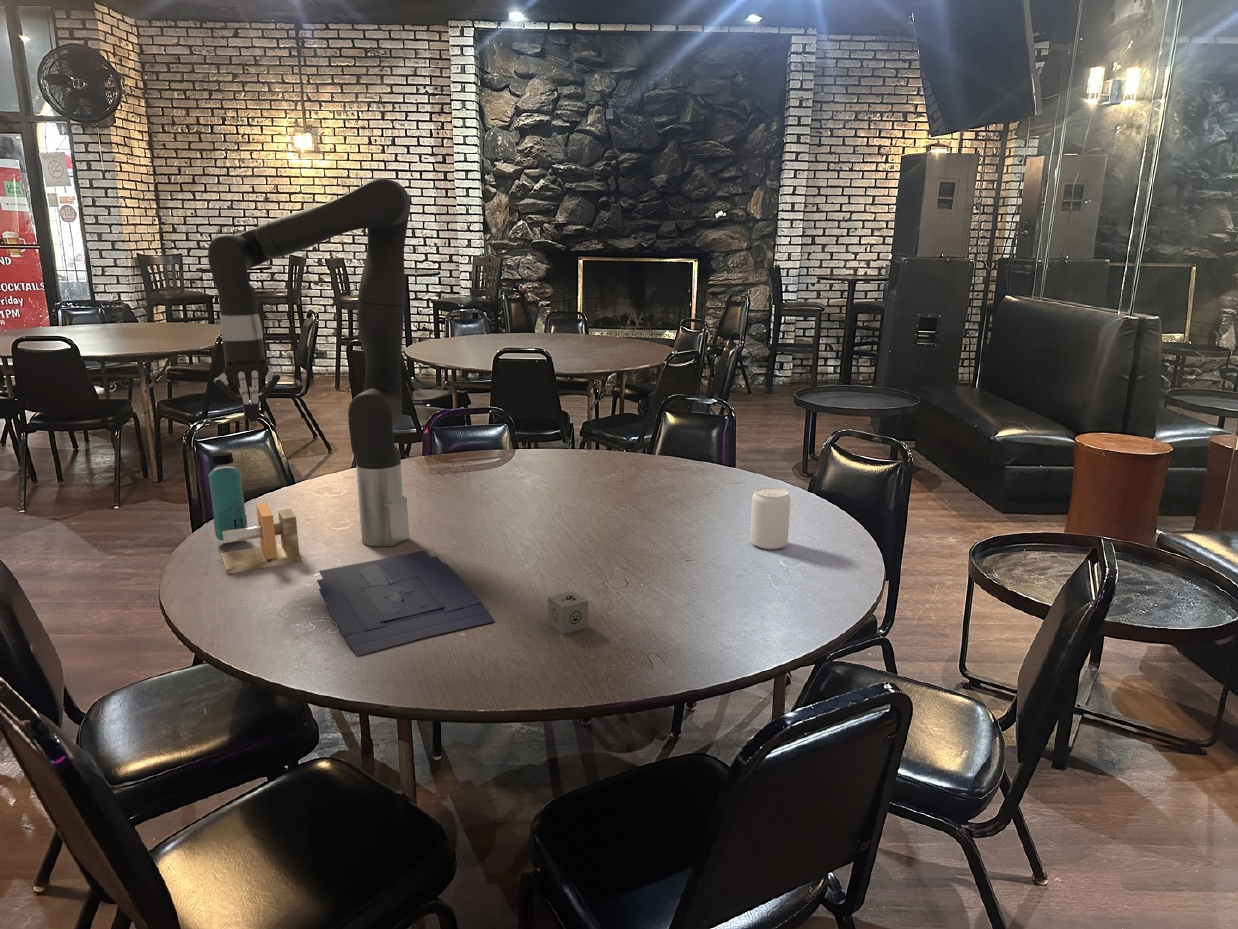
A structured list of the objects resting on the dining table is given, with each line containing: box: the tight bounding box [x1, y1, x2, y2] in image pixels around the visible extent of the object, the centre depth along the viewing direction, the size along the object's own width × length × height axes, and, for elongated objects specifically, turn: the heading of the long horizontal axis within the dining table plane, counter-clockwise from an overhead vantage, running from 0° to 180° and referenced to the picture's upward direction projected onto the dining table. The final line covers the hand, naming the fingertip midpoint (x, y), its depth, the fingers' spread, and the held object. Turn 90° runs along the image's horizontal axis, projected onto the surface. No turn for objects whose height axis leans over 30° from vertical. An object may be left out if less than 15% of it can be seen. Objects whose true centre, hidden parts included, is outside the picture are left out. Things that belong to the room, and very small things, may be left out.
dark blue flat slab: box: [316, 549, 496, 657], centre depth 151 cm, size 24×30×4 cm
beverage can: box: [749, 486, 791, 550], centre depth 182 cm, size 8×8×12 cm
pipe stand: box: [220, 508, 303, 575], centre depth 171 cm, size 14×10×9 cm
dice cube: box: [547, 590, 589, 636], centre depth 143 cm, size 5×5×5 cm
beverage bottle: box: [207, 451, 248, 542], centre depth 179 cm, size 6×7×20 cm
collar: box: [255, 502, 277, 559], centre depth 171 cm, size 2×9×9 cm, turn 30°
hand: (252, 421), depth 174 cm, fingers closed
